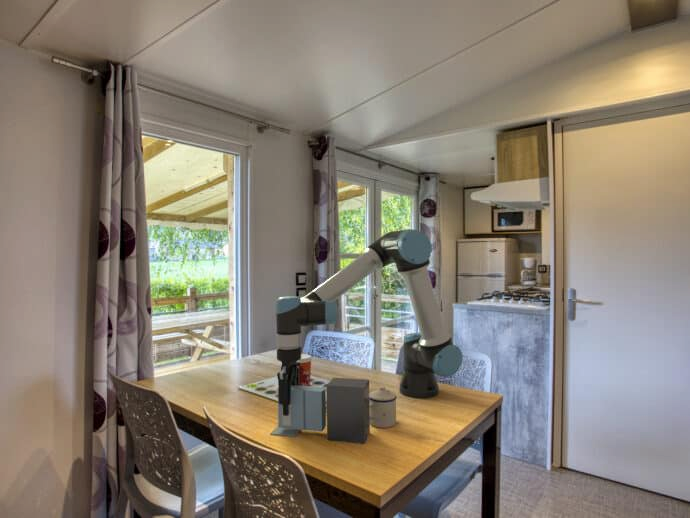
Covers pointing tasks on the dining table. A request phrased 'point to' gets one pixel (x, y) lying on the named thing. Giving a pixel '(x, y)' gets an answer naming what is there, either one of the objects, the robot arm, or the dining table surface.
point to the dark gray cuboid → (348, 410)
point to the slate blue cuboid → (306, 408)
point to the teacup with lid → (382, 408)
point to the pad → (285, 432)
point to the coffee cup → (305, 369)
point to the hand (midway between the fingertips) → (289, 421)
